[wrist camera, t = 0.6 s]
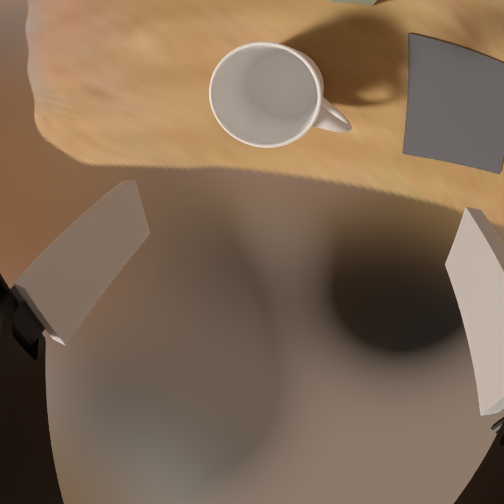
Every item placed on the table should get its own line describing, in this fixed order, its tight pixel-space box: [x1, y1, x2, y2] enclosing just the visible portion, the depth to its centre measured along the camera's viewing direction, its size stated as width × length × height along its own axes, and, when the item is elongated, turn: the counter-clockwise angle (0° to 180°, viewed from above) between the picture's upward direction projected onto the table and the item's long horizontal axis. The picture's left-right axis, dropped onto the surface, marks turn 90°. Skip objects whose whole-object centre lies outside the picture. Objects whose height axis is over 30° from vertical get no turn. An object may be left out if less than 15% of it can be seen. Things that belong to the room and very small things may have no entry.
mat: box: [403, 34, 504, 174], centre depth 22 cm, size 14×14×1 cm
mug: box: [209, 41, 352, 148], centre depth 23 cm, size 9×12×11 cm
